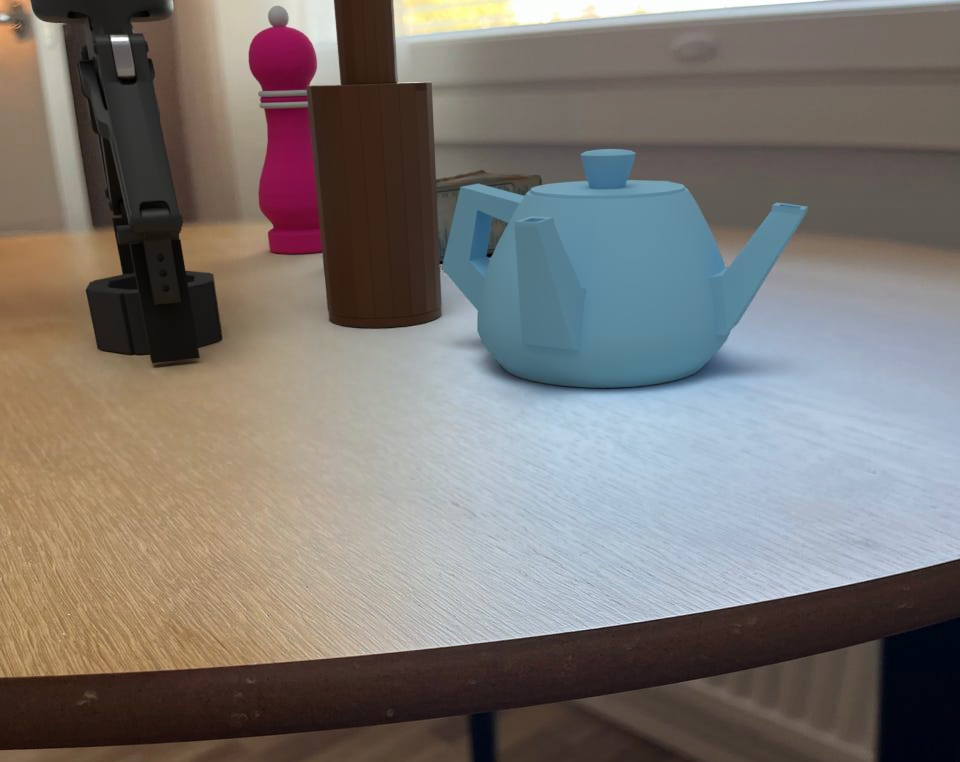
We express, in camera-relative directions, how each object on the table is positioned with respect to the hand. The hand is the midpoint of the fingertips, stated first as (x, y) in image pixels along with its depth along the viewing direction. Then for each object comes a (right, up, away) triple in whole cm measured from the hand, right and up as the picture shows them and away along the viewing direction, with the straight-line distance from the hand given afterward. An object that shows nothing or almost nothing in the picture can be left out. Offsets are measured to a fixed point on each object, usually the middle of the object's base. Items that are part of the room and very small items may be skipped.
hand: (162, 337), depth 65 cm
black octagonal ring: (0, 0, 0) cm, 0 cm away
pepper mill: (+3, +18, +33) cm, 38 cm away
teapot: (+27, -4, -8) cm, 29 cm away
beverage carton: (+16, +15, +27) cm, 35 cm away
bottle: (+14, +3, +5) cm, 15 cm away
